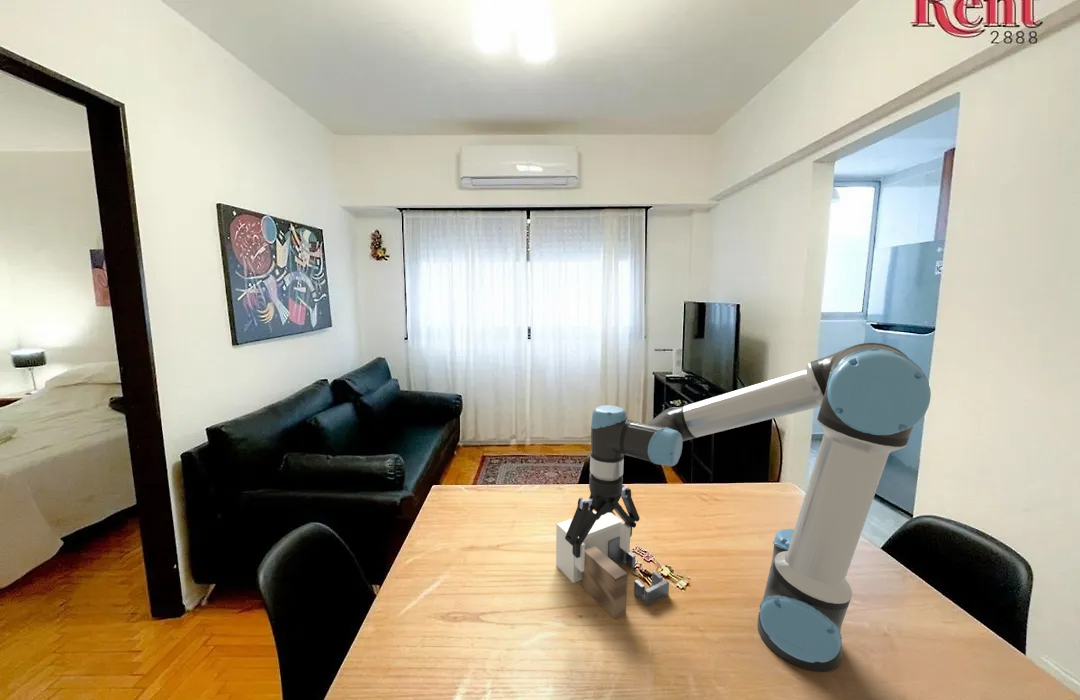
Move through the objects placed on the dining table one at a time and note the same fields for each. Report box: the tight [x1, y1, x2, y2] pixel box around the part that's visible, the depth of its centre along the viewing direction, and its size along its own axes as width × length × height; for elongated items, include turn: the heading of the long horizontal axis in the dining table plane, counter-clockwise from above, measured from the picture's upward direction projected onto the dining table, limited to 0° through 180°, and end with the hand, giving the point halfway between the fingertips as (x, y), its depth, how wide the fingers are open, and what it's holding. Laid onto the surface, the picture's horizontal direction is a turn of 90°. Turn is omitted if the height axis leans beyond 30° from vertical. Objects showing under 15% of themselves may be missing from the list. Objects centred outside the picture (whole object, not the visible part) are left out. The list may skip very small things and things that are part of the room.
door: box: [581, 546, 628, 620], centre depth 98 cm, size 12×4×10 cm, turn 31°
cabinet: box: [555, 510, 624, 584], centre depth 111 cm, size 8×16×12 cm, turn 121°
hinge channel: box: [608, 537, 670, 607], centre depth 104 cm, size 15×7×8 cm, turn 31°
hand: (602, 558), depth 98 cm, fingers open, 13 cm apart
